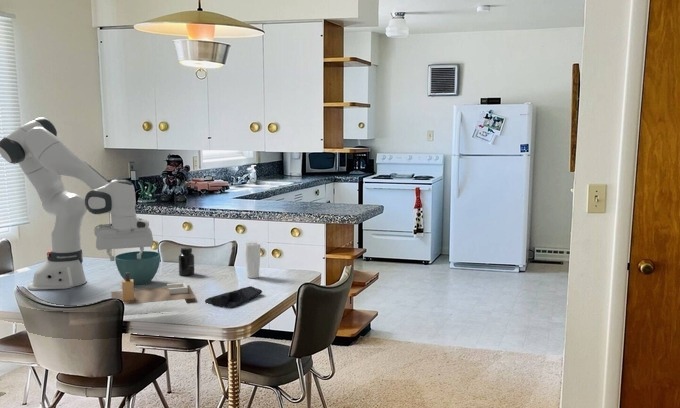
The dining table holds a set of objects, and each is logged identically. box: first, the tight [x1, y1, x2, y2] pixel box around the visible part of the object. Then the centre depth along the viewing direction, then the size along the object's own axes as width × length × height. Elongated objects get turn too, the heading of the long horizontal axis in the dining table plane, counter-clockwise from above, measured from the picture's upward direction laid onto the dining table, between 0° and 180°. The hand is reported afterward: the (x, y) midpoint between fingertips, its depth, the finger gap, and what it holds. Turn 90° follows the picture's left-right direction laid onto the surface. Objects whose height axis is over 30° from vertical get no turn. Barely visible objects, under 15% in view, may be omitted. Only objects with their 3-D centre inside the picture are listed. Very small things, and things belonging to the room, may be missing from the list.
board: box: [110, 284, 197, 305], centre depth 241 cm, size 30×20×2 cm, turn 110°
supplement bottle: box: [178, 247, 195, 277], centre depth 280 cm, size 7×7×12 cm
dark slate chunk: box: [204, 285, 263, 309], centre depth 240 cm, size 15×22×5 cm
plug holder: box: [166, 282, 188, 294], centre depth 247 cm, size 7×8×2 cm
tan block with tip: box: [121, 272, 135, 301], centre depth 234 cm, size 4×4×10 cm
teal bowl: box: [114, 250, 161, 287], centre depth 263 cm, size 18×18×12 cm
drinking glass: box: [244, 242, 262, 279], centre depth 275 cm, size 7×7×15 cm
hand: (125, 259), depth 233 cm, fingers open, 8 cm apart
